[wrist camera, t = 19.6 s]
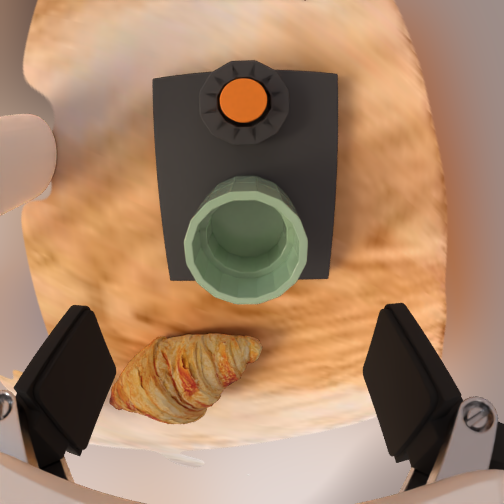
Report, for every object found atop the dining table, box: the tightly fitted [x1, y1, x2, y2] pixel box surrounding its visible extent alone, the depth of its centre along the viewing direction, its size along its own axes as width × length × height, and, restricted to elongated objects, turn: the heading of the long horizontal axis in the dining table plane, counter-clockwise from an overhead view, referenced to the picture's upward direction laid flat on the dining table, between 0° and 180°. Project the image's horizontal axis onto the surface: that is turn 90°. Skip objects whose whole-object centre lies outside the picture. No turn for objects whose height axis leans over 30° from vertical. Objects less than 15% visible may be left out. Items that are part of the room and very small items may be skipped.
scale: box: [153, 60, 338, 281], centre depth 20 cm, size 16×13×3 cm
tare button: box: [220, 78, 267, 123], centre depth 16 cm, size 3×3×2 cm
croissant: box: [110, 333, 262, 424], centre depth 27 cm, size 21×10×8 cm, turn 123°
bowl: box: [184, 176, 308, 304], centre depth 19 cm, size 7×7×6 cm
